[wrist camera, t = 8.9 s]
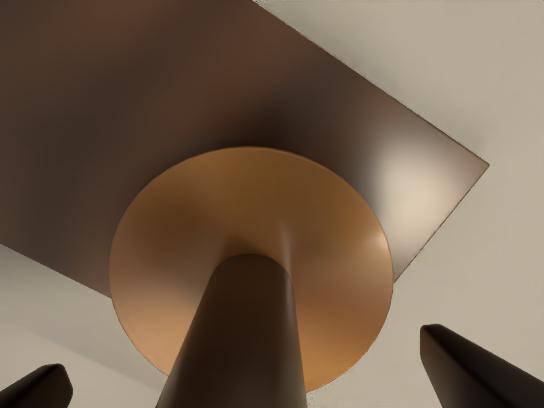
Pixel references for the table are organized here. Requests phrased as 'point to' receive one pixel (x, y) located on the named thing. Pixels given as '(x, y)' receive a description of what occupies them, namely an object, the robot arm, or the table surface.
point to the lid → (249, 278)
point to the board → (192, 121)
